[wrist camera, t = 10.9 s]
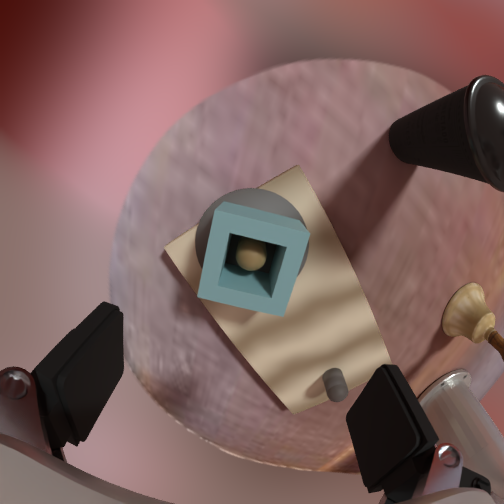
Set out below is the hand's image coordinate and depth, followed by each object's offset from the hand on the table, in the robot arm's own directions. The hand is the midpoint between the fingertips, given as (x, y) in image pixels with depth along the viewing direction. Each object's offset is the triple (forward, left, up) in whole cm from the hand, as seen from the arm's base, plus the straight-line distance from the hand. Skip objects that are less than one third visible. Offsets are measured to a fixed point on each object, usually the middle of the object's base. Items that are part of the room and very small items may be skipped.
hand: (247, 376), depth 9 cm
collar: (0, 0, -16) cm, 16 cm away
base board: (-9, 0, -18) cm, 20 cm away
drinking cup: (+1, -19, -18) cm, 26 cm away
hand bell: (-23, -20, -18) cm, 35 cm away
